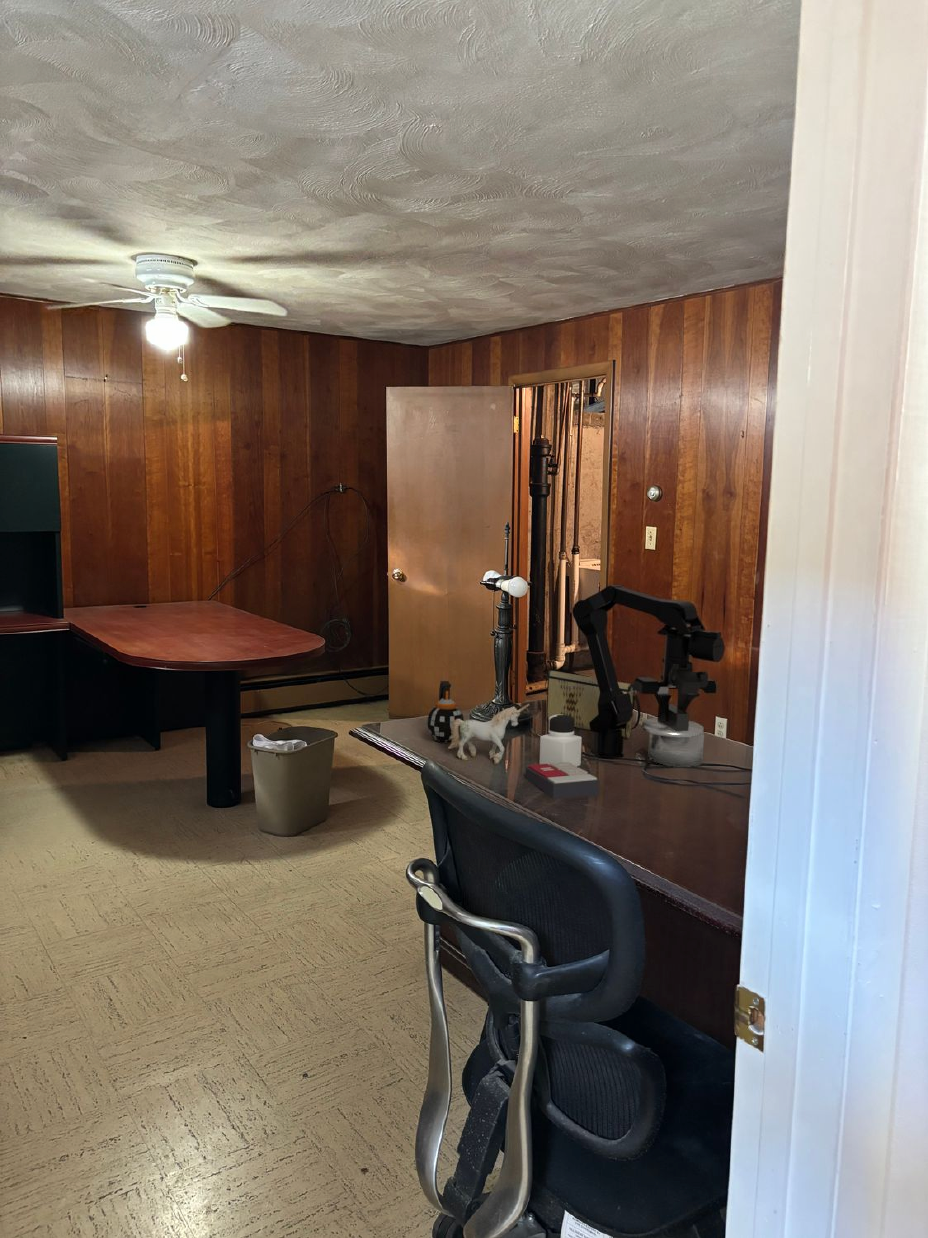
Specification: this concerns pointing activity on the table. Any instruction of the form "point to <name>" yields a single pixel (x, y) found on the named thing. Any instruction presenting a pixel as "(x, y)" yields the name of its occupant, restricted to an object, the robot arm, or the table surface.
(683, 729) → the lid
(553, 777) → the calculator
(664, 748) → the grey cylinder drum
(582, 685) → the clutch purse
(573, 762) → the medicine bottle
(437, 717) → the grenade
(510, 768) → the table surface
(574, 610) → the robot arm
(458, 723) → the unicorn figurine
